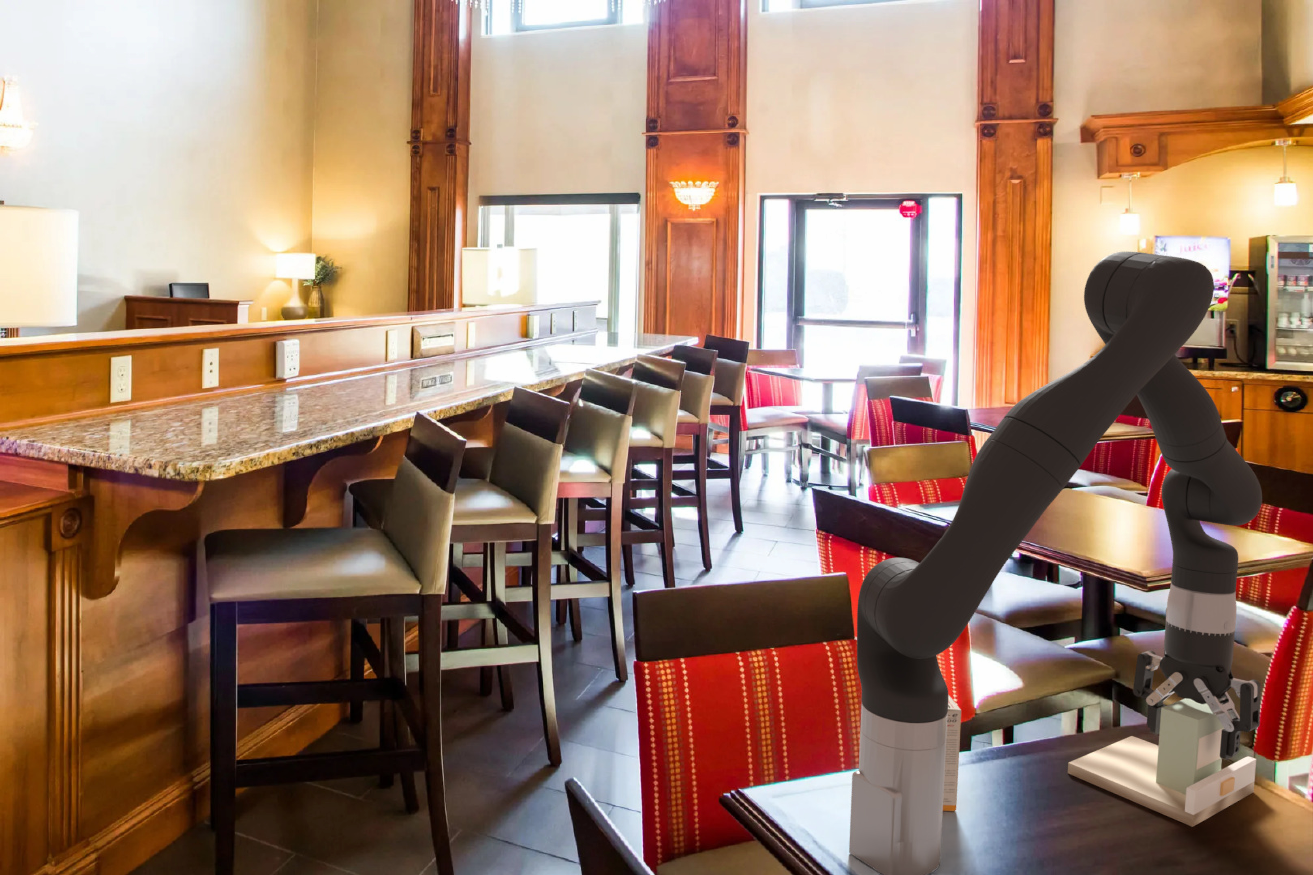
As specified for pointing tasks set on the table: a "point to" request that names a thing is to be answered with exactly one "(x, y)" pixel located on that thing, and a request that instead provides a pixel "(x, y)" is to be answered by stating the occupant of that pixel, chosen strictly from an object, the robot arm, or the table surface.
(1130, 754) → the shelf board
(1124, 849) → the table surface
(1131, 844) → the table surface
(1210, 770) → the carton
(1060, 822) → the table surface
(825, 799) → the table surface
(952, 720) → the supplement box
